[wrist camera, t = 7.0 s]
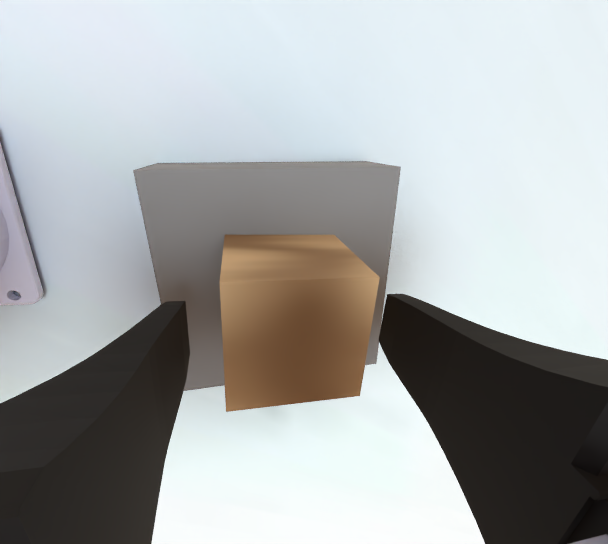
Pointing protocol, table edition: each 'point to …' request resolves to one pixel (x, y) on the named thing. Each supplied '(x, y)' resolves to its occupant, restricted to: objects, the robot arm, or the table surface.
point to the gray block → (256, 231)
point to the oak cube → (293, 319)
